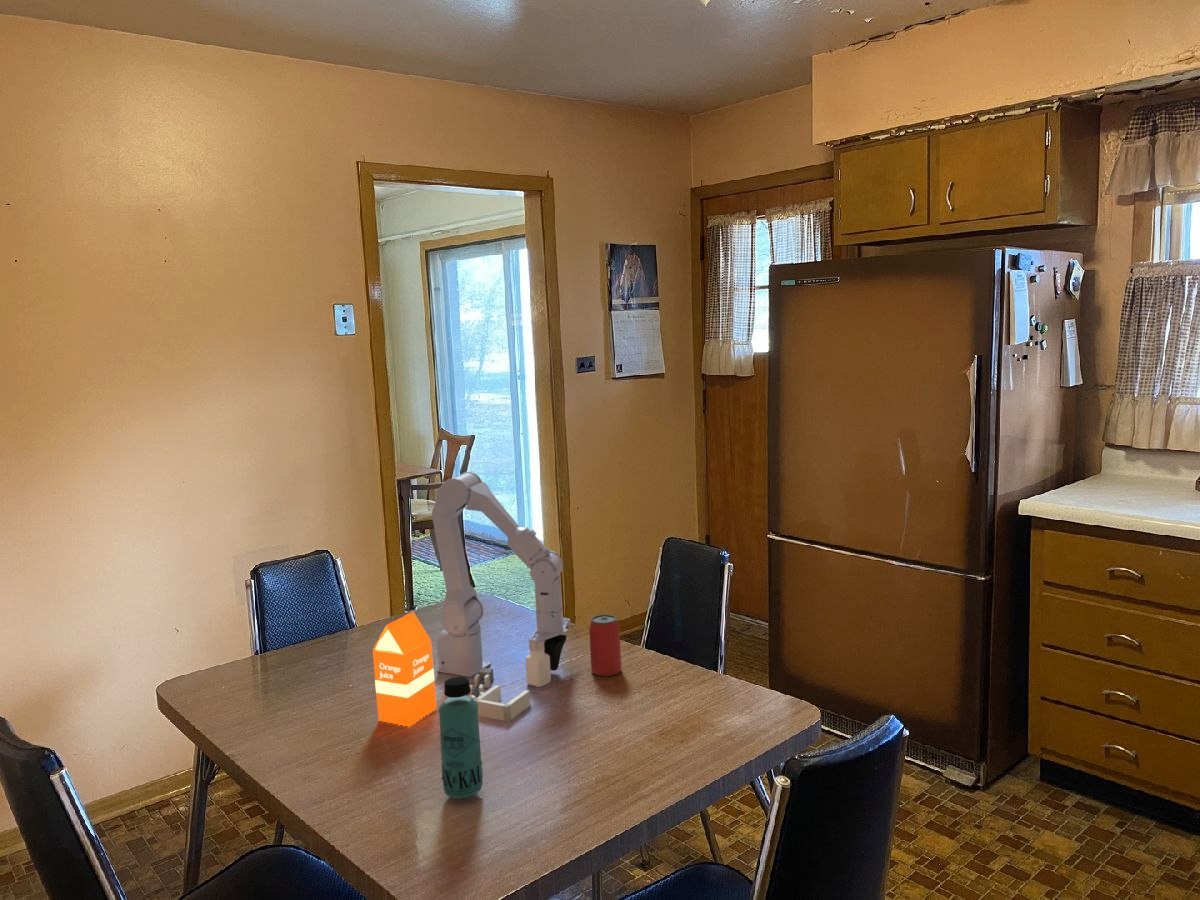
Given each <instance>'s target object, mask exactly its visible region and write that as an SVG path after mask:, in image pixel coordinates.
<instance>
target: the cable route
mask: <svg viewBox="0 0 1200 900" xmlns="http://www.w3.org/2000/svg"><path fill="white" fill-rule="evenodd" d="M477 674H480V682H479V683H478V684H477V686H476V687H474V689H473V695H474V696H475V697H476V698H478V695H479V686H480V685H482V684H483V685H484V677H485V676H486V675H490V682H491V683H492V682H493V680H494V678H495V677H494V668H493V667H492V668H489V667H486V668H481V669H480V670H479V672H478V673H477Z"/></svg>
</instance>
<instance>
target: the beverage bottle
mask: <svg viewBox="0 0 1200 900" xmlns="http://www.w3.org/2000/svg"><path fill="white" fill-rule="evenodd" d="M470 685H471V684H470V680H469V677H467V676H461V675H457V676H453V677H449V678H447V679H445V680H444V689H443V691H444V693H443V694H444V696H445V697H447V698H446V699H445V700H443V701H442V702H441V703H440V705H439V706H438V715H439V732H440V733H439V740H440V747H439V749H440V754H441V756H440V757H441V758H440V760H441V774H442V775H441V776H442V777H441V781H442V785H443V791H444V794H446V795H447V796H448V797H450V798H453V799H465V798H470V797H472V796H474V795H476V794H478V793H479V792H480V791H481V790H482V787H483V783H484V780H483V779H484V775H483V774H484V773H483V766H482V764H483V761H482V751H481V750H482V748H481V739H480V726H479V716H478V704H477V702H476V701H475V700H473V699H472V698H470V697H469V696H468V695H469V693H470V691H471V690H470Z"/></svg>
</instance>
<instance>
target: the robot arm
mask: <svg viewBox="0 0 1200 900" xmlns="http://www.w3.org/2000/svg"><path fill="white" fill-rule="evenodd" d="M436 495H437V496H436V499H435V502H434V505H433V508H432V510H431V517H432V523H433V528H434V532H435V538H436V544H437V550H438V554H439V559H440V564H441V570H442V574H443V576H442V577H443V579H444V580H443V581H444V584H445V585H444V586H445V589H446V592H445V596H444V599H443V603H442V606H443V614H442V619H441V621H442V622H441V623H442V626H443V629H442V630H441V631H440V632H439V634H438V637H437V644H436V645H437V646H436V647H437V657H438V668H437V669H436V672H438V673H446V674H449V673H450V675H456V676H462V677H466V678H472V677H475V675H476V674H478V672H479V670H480V669H481V668H489V667H490V666H491V665H492V663H491V662H489V661H486V660H485V661H484V660H483V659H484V658H483V647H482V635H481V634H482V633H481V632H482V631H481V625H480V620H481V619H482V618H483V615H484V612H485V611H484V606H483V603H482V602H481V600H480V599H479V597H478V595H477V590H476V589H475V588H474V587H473V586H472V585H471V582H470V577H469V572H468V571H469V570H468V566H467V561H466V556H465V555H466V554H465V551H464V545H463V538H462V535H461V533H462V532H461V529H460V524H459V516H460V515H461V513H462V512H463V511H464V509H465V510H468V511H477V512H481V513H482V514H483V515H484V516H485V517H486V518H488V519H489V520H490V521H491V522H492V523H493V524H494V525H495V527H497V528H498V529H499V530H500V531H501V533H503V534H504V535H505V536H506V537H507V546H508V547H509V548H510V549H511V551H512V552H513V553H514V554H515V555H516V556H517V557H518V558H519V560H520V561H521V562H523V563H524V565H525V566H526V567H527V568H529V569H530V571H529V576H530V578H531V580H532V581H533V582H534V599H535V615H536V616H535V617H536V629H535V630H534V633H533V634H532V636H531V637H530V638H529V639H528V647H529V649H530V648H531V647H532V646H531V643H535V649H538V643H539V642H541V641H544V648H545V649H544V653H546V654H548V655H549V656H550V670H551V671H553V672H555V671H557V670H558V669H559V664H560V659H561V654H562V650H563V647H564V645H565V643H566V641H567V634H568V632H569V630H568V629H569V628H572V626H571V623H572V622H571V618H567V617H564V615H563V597H562V595H563V594H562V585H561V584H562V583H561V580H562V579H561V576H560V574H561V573H562V571H563V568H564V562H563V561H564V560H563V559H562V558H561V556H560V554H559V552H556V551H553V550H551V548H549V547H546V546H545V544H543V542H541V540H540V539H539V538H538V537H537V536H536V535H537V532H536V531H535V530H534V529H531V530H530V528H529V527H527V526H520V525H518V523H517V522H516V520H515V519H514V518H513V517H512V516H511V515H510V513H509V512H508V511H507V510H506V508H505V507H504V506H503V505H502V503H501V502H500V501H499V499H498V498H497V497H496V496H495V494H493V491H491V488H490V487H489V485H488V484H487V483H486V482H485V481H482V479H481V477H480V476H479V475H478V474H477V473H476V472H472V471H465V472H463V473H461V474H459V475H457V476H455V477H453V478H452V477H451V478H449V479H446V480H445V481H443V483H442V484H441V485H440V486H439V487H438V488H437V490H436Z"/></svg>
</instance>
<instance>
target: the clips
mask: <svg viewBox="0 0 1200 900" xmlns="http://www.w3.org/2000/svg"><path fill="white" fill-rule="evenodd" d="M473 681H474V685H473V684H470V690H471V691H470V693H469V694H467V696H469V697H470V698H472V699H473V700H475V699H476V697H475V696H474V695H473V693H474V688H475V687H476V686H477V684H478V683H479V682H480V674H478V673H477V674H475V675H474V676H473ZM491 685H492V682H490V675H486V676H485V677H484V685H483V684H482V685H480V686H479V695H478V697H479V696H481V695H482V694H484V693H485V692H486V691H485V689H489V688H490V686H491Z"/></svg>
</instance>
